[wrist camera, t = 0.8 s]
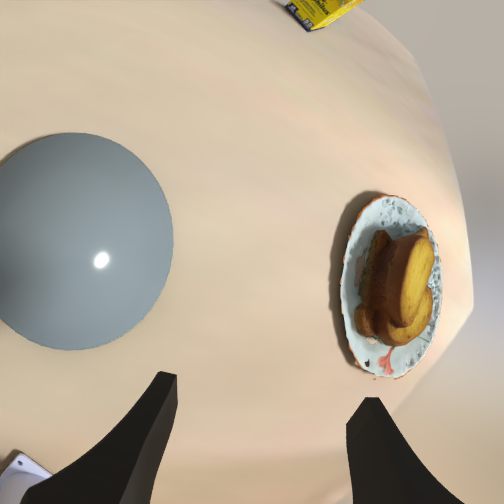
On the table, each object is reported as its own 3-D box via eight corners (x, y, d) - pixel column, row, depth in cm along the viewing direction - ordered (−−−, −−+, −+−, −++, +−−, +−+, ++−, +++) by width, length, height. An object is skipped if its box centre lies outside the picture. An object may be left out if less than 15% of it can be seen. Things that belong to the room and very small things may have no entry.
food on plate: (417, 373, 43) (450, 377, 38) (316, 382, 31) (362, 395, 25) (429, 229, 49) (460, 224, 43) (341, 169, 36) (382, 153, 31)
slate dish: (72, 389, 18) (73, 394, 17) (-55, 228, 14) (-60, 226, 13) (207, 248, 25) (212, 247, 25) (93, 105, 21) (94, 98, 20)
